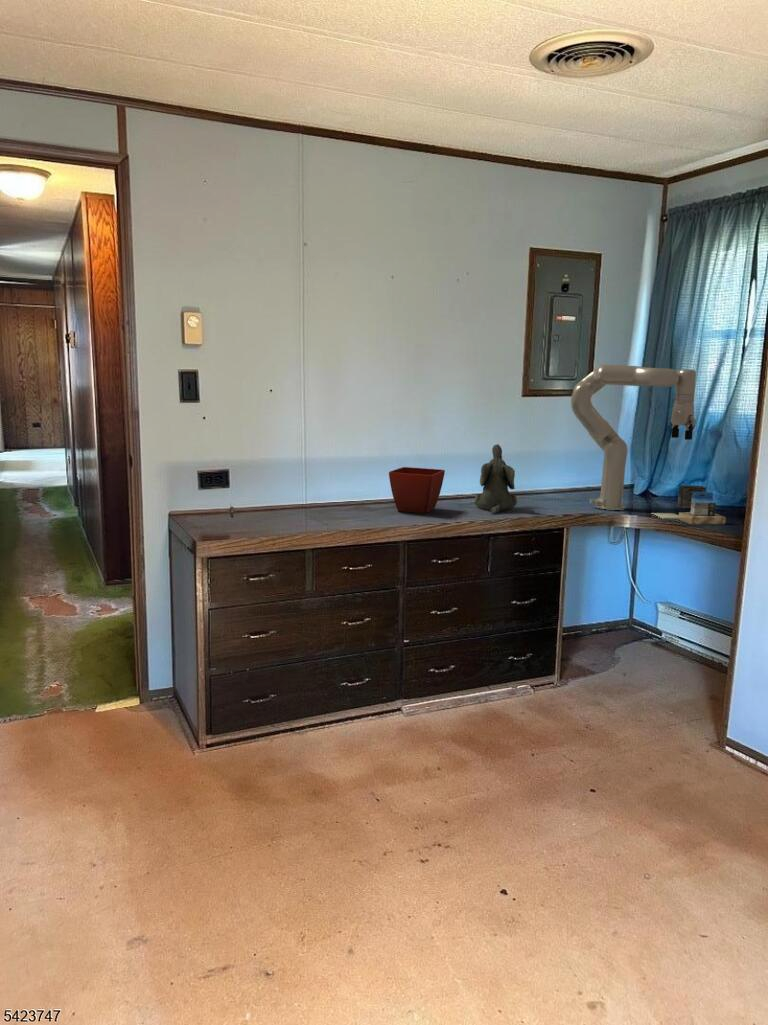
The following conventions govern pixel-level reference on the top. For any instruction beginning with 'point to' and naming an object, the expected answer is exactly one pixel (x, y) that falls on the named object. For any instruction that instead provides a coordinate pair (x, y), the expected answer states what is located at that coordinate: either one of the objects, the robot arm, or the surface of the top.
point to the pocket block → (701, 519)
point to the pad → (666, 515)
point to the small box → (687, 495)
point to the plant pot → (416, 488)
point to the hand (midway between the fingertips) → (681, 438)
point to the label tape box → (702, 504)
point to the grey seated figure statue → (496, 484)
